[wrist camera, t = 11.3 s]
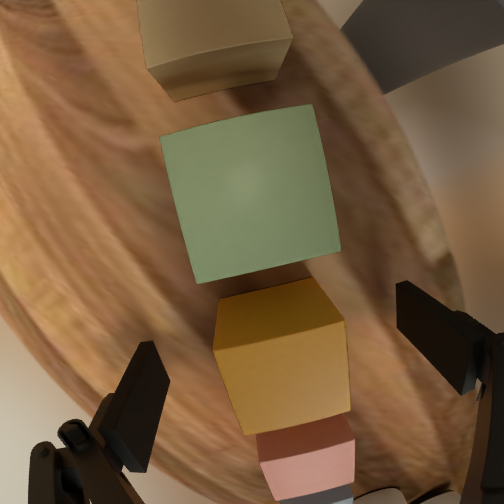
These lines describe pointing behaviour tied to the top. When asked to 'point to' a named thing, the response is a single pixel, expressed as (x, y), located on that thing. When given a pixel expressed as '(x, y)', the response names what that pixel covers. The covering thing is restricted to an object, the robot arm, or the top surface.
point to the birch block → (212, 43)
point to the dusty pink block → (307, 457)
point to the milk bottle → (382, 497)
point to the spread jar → (440, 497)
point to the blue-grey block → (324, 497)
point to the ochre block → (282, 356)
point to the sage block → (252, 192)
